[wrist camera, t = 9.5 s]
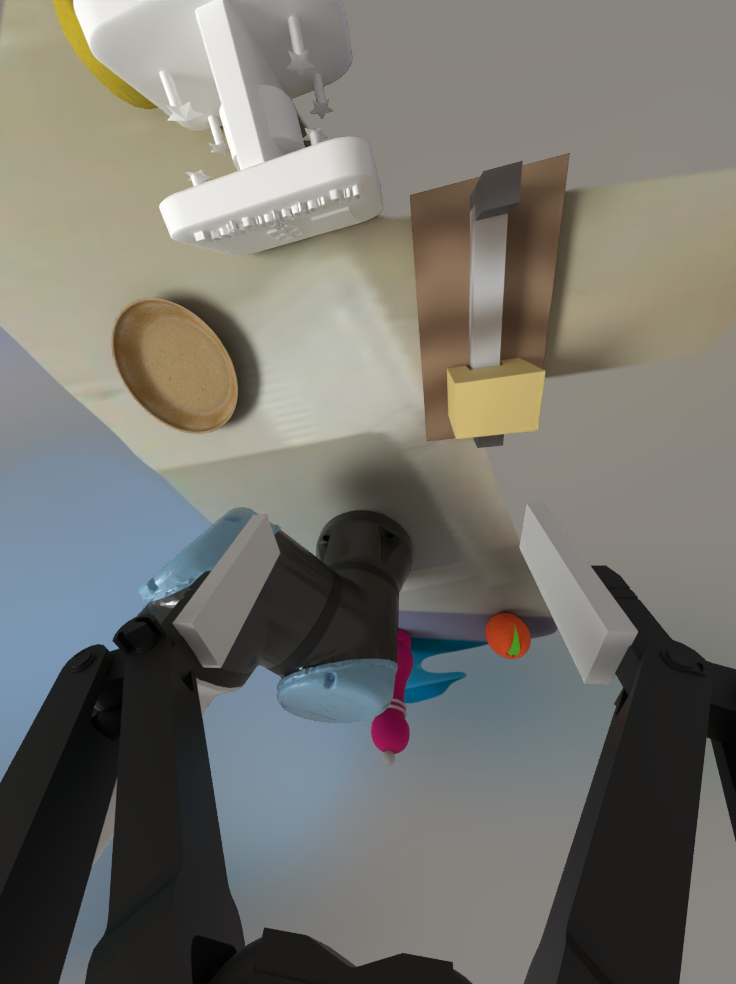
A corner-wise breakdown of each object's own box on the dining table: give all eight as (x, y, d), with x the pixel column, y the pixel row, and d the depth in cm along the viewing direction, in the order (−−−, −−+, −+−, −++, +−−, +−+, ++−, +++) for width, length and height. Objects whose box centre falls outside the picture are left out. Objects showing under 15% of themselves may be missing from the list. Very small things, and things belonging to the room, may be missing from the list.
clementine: (485, 598, 51) (495, 637, 45) (528, 601, 50) (544, 641, 45) (479, 627, 56) (487, 666, 50) (518, 630, 55) (531, 670, 49)
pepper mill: (396, 651, 63) (391, 778, 46) (370, 636, 61) (354, 761, 45) (420, 638, 60) (424, 769, 43) (393, 621, 58) (385, 751, 41)
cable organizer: (364, 40, 22) (326, -170, 12) (386, 225, 27) (372, 181, 18) (190, 111, 25) (48, -11, 15) (240, 265, 30) (159, 248, 21)
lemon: (128, -1, 22) (7, -132, 16) (199, 53, 23) (114, -48, 17) (123, 101, 25) (18, 26, 18) (186, 145, 26) (108, 90, 19)
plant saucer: (269, 366, 36) (260, 371, 33) (216, 447, 42) (205, 455, 40) (153, 263, 31) (133, 260, 29) (114, 371, 38) (96, 376, 36)
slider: (514, 407, 32) (537, 430, 26) (448, 415, 34) (456, 439, 28) (519, 357, 30) (545, 371, 24) (446, 368, 31) (455, 383, 25)
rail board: (530, 425, 35) (554, 449, 29) (426, 436, 37) (429, 461, 32) (561, 161, 24) (609, 114, 18) (410, 200, 26) (409, 170, 20)
